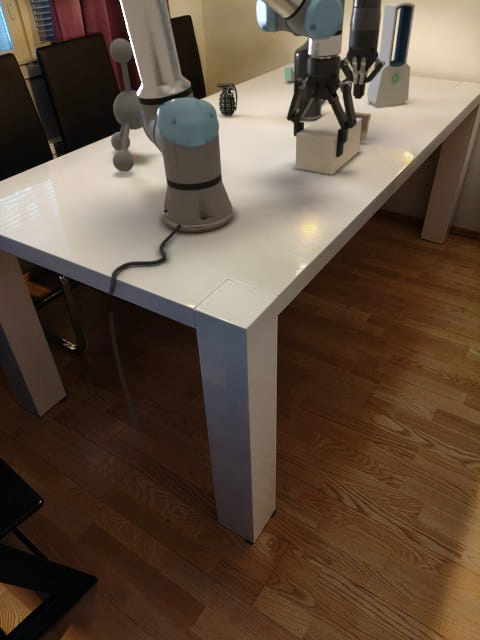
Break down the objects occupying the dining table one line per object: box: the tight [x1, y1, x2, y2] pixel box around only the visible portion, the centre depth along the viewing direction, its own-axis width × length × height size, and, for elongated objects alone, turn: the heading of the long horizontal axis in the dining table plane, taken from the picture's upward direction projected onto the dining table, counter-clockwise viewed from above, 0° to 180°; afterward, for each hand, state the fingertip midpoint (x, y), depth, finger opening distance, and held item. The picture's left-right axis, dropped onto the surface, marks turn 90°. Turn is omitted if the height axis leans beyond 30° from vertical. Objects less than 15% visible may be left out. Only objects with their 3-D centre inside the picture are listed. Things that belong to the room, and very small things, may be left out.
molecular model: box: [109, 37, 143, 173], centre depth 130 cm, size 24×22×30 cm
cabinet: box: [295, 113, 362, 176], centre depth 128 cm, size 18×10×9 cm, turn 148°
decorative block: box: [284, 60, 341, 82], centre depth 206 cm, size 26×6×20 cm
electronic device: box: [366, 0, 416, 108], centre depth 163 cm, size 12×8×30 cm, turn 105°
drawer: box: [344, 111, 372, 142], centre depth 136 cm, size 22×9×7 cm, turn 148°
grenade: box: [215, 82, 238, 117], centre depth 166 cm, size 7×6×10 cm
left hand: (319, 152), depth 125 cm, fingers closed on cabinet, 10 cm apart
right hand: (358, 98), depth 137 cm, fingers closed
